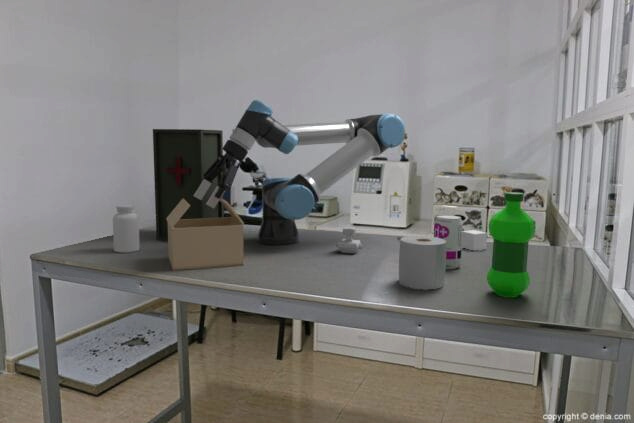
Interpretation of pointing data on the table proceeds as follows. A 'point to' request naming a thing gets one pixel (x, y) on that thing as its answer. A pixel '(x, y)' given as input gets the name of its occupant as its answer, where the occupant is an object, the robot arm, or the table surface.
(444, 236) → the supplement can
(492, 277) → the plastic bottle
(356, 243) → the stamp
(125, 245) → the pill bottle
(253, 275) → the table surface
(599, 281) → the table surface
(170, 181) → the first aid box
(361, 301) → the table surface
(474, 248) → the white cube
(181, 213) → the flap
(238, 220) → the flap
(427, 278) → the toilet paper roll
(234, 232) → the carton
